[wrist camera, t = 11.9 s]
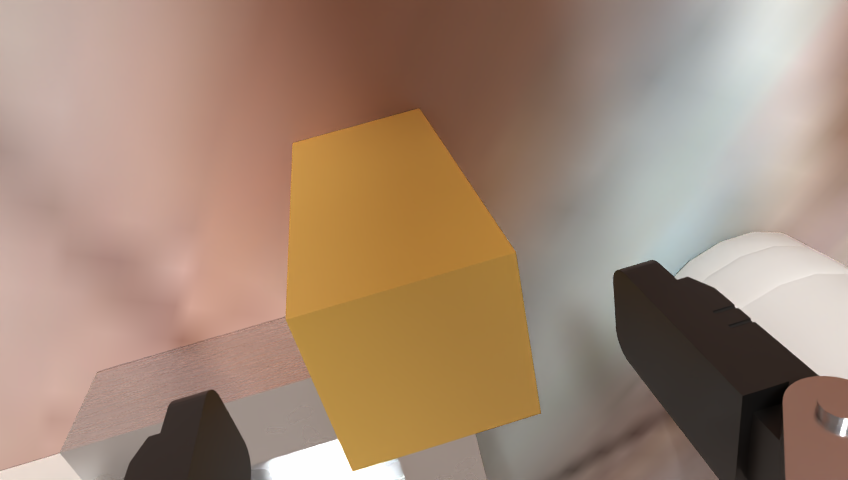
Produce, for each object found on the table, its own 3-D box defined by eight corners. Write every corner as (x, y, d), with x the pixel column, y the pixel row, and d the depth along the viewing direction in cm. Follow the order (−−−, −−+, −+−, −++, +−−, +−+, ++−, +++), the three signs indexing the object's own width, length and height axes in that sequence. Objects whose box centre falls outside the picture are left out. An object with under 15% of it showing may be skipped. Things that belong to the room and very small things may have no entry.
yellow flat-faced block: (292, 143, 17) (285, 319, 9) (419, 108, 17) (515, 251, 10) (331, 252, 19) (352, 472, 11) (444, 219, 19) (541, 413, 12)
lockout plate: (96, 372, 20) (59, 452, 17) (428, 275, 20) (451, 335, 17) (229, 562, 26) (220, 646, 23) (481, 482, 26) (505, 553, 23)
